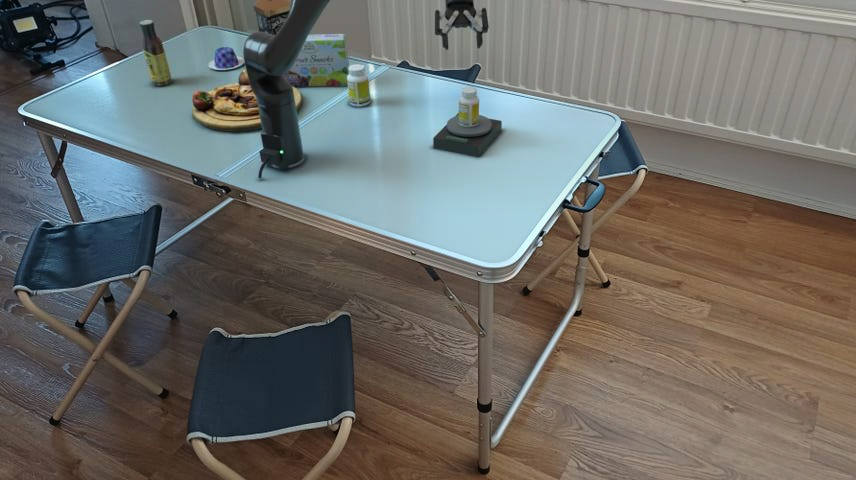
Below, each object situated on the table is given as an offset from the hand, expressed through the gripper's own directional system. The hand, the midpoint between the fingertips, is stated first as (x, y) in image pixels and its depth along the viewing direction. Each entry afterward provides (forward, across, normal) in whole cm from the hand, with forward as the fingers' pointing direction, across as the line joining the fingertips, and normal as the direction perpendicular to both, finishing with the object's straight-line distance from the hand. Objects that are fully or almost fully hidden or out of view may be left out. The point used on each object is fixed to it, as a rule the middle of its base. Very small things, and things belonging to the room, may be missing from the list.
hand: (463, 48), depth 193 cm
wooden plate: (+4, -62, +26) cm, 68 cm away
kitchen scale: (+23, 0, +6) cm, 24 cm away
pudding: (-21, -74, +52) cm, 93 cm away
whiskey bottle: (-20, -55, +50) cm, 77 cm away
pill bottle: (+4, -29, +25) cm, 39 cm away
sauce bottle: (-12, -93, +43) cm, 103 cm away
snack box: (-7, -43, +37) cm, 57 cm away
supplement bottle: (+20, 0, +3) cm, 20 cm away
